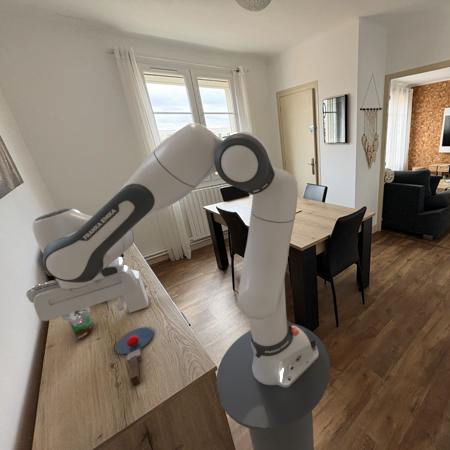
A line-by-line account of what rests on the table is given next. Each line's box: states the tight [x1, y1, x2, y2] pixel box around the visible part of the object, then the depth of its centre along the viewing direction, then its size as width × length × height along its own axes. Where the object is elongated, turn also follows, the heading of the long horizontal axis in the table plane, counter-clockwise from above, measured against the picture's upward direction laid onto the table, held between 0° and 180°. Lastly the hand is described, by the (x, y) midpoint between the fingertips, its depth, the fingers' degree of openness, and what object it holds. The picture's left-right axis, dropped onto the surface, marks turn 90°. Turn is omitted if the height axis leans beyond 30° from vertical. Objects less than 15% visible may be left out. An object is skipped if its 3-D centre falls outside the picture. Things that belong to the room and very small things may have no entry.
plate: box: [115, 327, 154, 356], centre depth 90 cm, size 12×12×1 cm
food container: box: [67, 307, 95, 341], centre depth 95 cm, size 12×6×10 cm, turn 44°
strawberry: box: [127, 336, 139, 347], centre depth 86 cm, size 4×4×4 cm
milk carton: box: [124, 268, 149, 313], centre depth 105 cm, size 7×7×19 cm
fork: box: [126, 349, 143, 386], centre depth 79 cm, size 14×4×3 cm, turn 34°
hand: (101, 316), depth 65 cm, fingers open, 8 cm apart
